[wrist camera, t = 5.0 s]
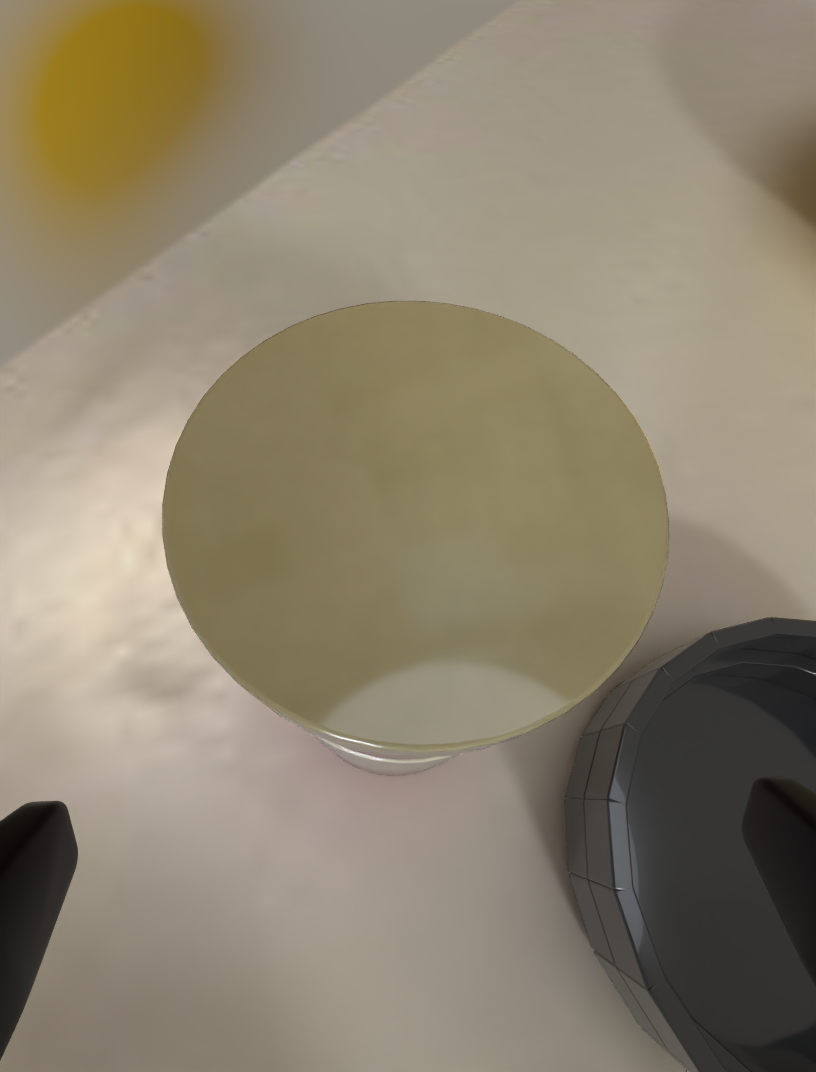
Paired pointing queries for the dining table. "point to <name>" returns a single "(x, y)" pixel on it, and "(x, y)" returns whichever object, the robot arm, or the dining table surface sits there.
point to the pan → (698, 845)
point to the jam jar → (415, 530)
